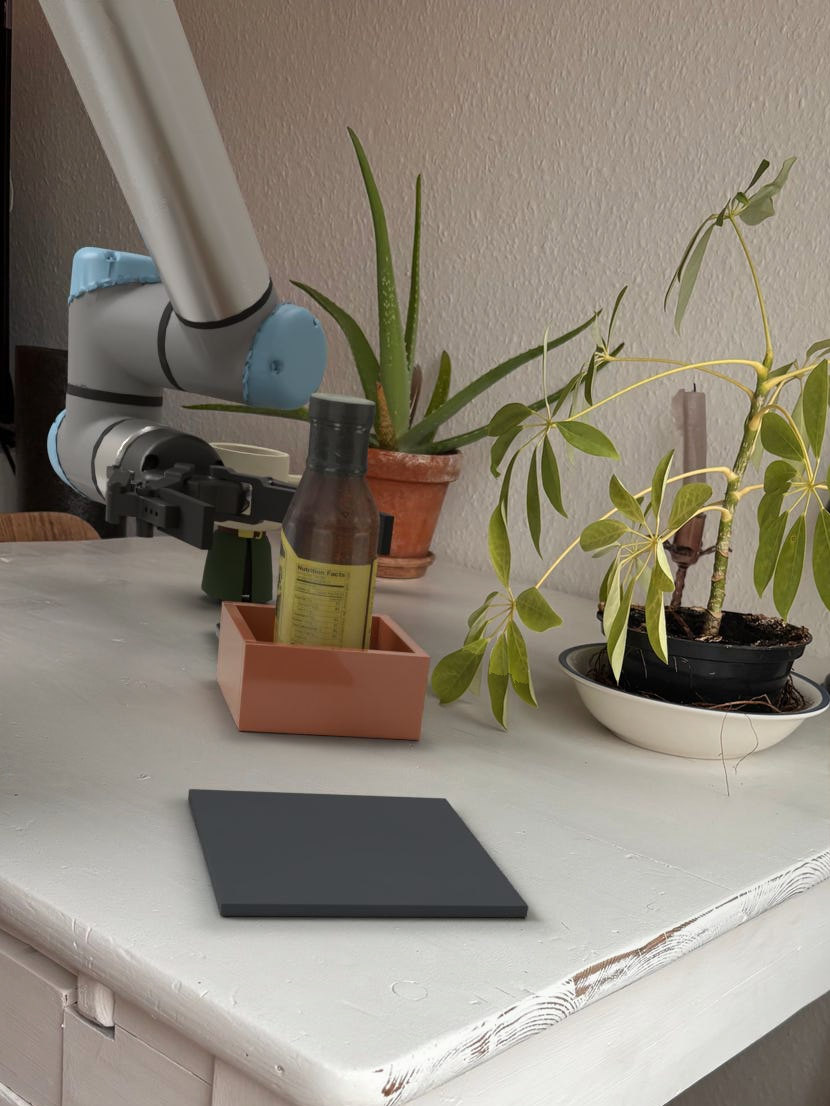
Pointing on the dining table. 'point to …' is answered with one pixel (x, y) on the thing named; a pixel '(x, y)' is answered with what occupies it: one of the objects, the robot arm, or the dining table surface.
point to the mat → (346, 857)
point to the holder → (320, 679)
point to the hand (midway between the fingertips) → (302, 532)
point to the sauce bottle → (330, 533)
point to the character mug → (245, 532)
